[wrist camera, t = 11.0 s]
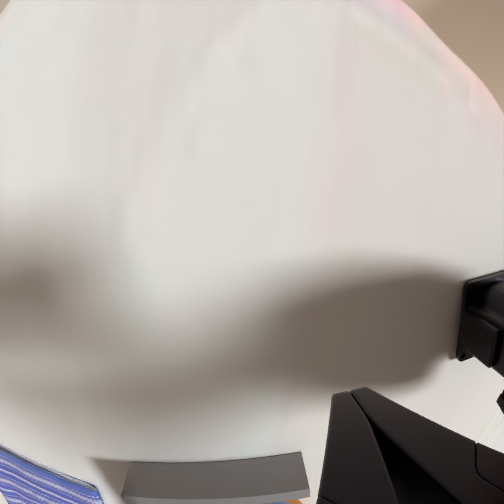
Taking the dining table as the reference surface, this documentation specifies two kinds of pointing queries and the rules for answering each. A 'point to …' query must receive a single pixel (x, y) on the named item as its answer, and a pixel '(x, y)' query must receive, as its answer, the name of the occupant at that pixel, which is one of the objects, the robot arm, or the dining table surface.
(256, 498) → the box
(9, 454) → the dish towel
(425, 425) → the robot arm
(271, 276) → the dining table surface
